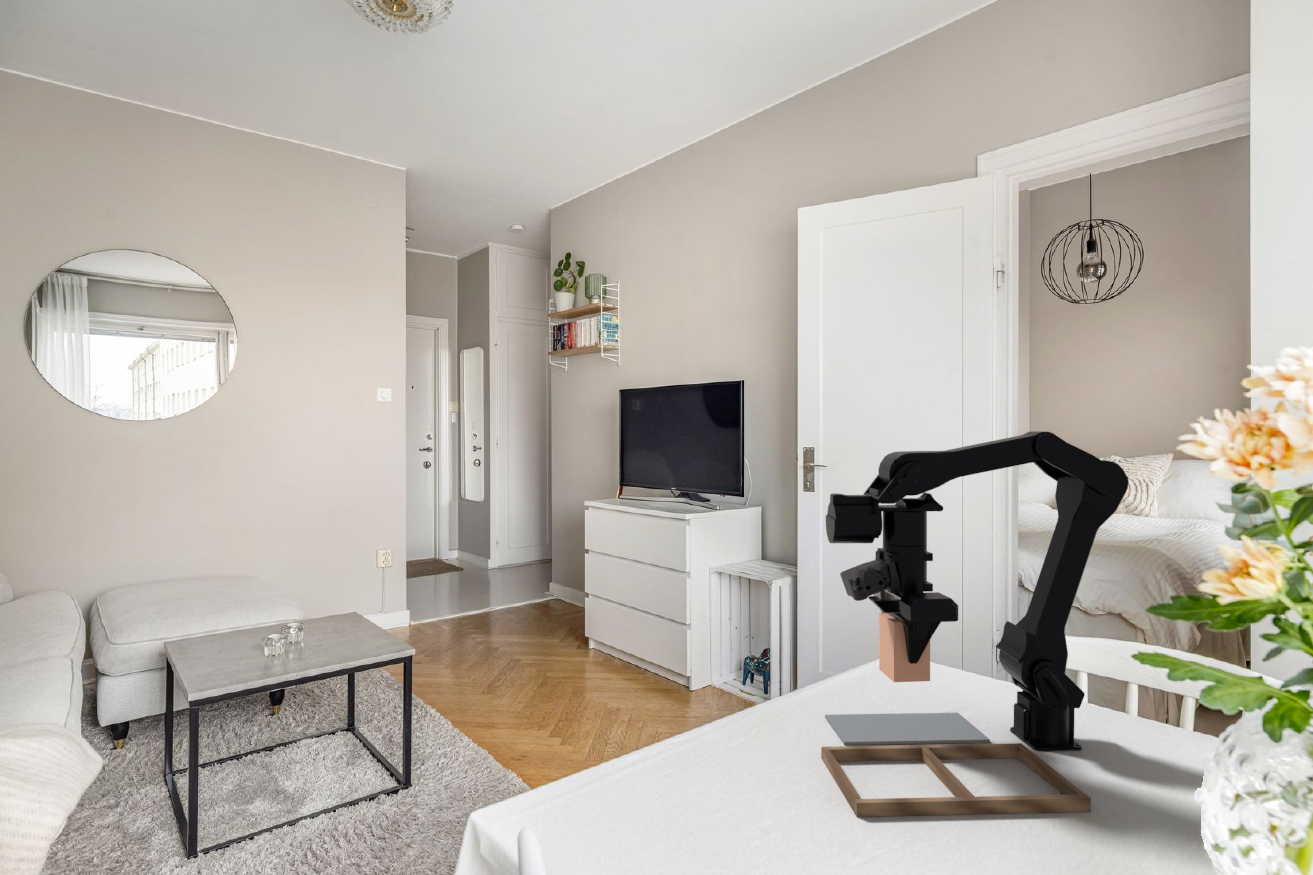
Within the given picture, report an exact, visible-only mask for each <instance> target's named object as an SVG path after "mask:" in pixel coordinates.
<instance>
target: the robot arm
mask: <svg viewBox="0 0 1313 875" xmlns="http://www.w3.org/2000/svg"><path fill="white" fill-rule="evenodd" d="M1031 463H1033V464H1034V465H1035V466H1037V467H1038V469H1040V470H1041V471H1042V472H1043V473H1044V474H1045V475H1046V476H1048V477H1050V478H1051V479H1052V480H1053V481H1055V482H1056V487H1055V488H1056V489H1055V496H1054V497H1055V503H1056V509H1057V510H1056V511H1057V515H1058V516H1057V521H1056V523H1055V527H1054V530H1053V533H1052V537H1051V539H1050V542H1049V545H1048V548H1047V551H1046V555H1045V556H1044V557H1045V558H1044V560H1043V563H1042V567H1041V570H1040V571H1039V572H1040V573H1039V575H1038V579H1037V582H1036V584H1035V588H1034V590H1033V594H1032V597H1031V599H1030V602H1029V606H1028V609H1027V612H1026V613H1025V615H1024V616H1023V617H1022V618H1021V619H1020V620H1019V621H1018V622H1017V623H1016V624H1015V623H1013V622H1010V621H1008V620H1007V621H1006V622H1005V624H1004V625H1003V632H1002V637H1001V639H1000V641H999V642H998V643H997V644H996V648H997V649H999V654H998V658H999V662H1000V664H1001V666H1002V668H1003V670H1005V672H1006V673H1008V674H1009V675H1010V677H1011V680H1012V682H1013V685H1015V686H1016V687H1018V688H1020V689H1021V690H1022V691H1017V692H1016V703H1015V702H1014V705H1013V726H1011V727H1010V728H1009V732H1010V733H1011V734H1013V735H1015V736H1016V737H1017V738H1018V739H1019V740H1020V741H1022V742H1023V743H1025V744H1026V745H1027V746H1029V747H1030V748H1031V749H1032V750H1034V751H1037V752H1061V751H1064V752H1065V751H1066V752H1067V751H1068V752H1069V751H1082V750H1083V746H1082V745H1081V744H1079V743H1078V742H1077V741H1075V709H1080V707H1081V706H1082V703H1083V700H1084V698H1085V692H1084V691H1083V690H1082V689H1081V688H1080V687H1079V686H1078V685H1077V684H1076V683H1075V682H1074V681H1073V680H1072V679H1071V678H1070V677H1069V676H1067V673H1066V670H1067V665H1068V656H1069V652H1068V644H1067V639H1066V631H1065V630H1066V625H1067V623H1068V620H1069V616H1070V614H1071V611H1072V608H1073V604H1074V601H1075V599H1076V595H1077V593H1078V591H1079V590H1078V589H1079V587H1080V584H1081V581H1082V578H1083V575H1084V572H1085V569H1086V566H1087V563H1088V561H1089V558H1090V557H1089V556H1090V554H1091V551H1092V548H1093V545H1094V542H1095V540H1096V539H1095V538H1096V535H1097V532H1098V531H1099V529H1100V528H1101V526H1102V525H1104V524H1105V523H1106V522H1107V521H1108V520H1109V518H1111V517H1112V516H1113V515H1114V514H1115V513H1116V511H1117V510H1118V508H1119V506H1120V505H1121V503H1122V502H1123V499H1124V497H1125V495H1126V493H1127V491H1128V489H1129V484H1130V482H1129V476H1127V474H1126V472H1125V470H1124V468H1122V466H1120V465H1119V464H1118V463H1115V462H1113V461H1111V460H1104V459H1103V460H1102V459H1100V458H1098V457H1097V456H1095V455H1093V454H1092V453H1090V452H1088V451H1085V450H1083V449H1081V448H1079V447H1077V446H1074V445H1073V444H1071V443H1069V442H1067V441H1065V440H1064V439H1062V438H1060V436H1057V435H1056V434H1055V433H1053V432H1050V431H1028V432H1026V433H1023V434H1020V435H1016V436H1012V437H1011V436H1010V437H1006V438H1001V439H996V440H991V441H986V442H981V443H976V444H970V445H965V446H962V447H956V448H952V449H947V450H916V451H915V450H912V451H911V450H910V451H908V450H907V451H905V450H904V451H894V452H890V453H888V454H886V455H885V456H884V457H883V458H882V459H881V462H880V463H879V467H878V474H877V475H876V477H874V479H873V481H872V482H871V483H870V485H869V486H868V488H866V490H865V491H864V492H863V494H844V493H830V495H829V503H828V507H827V514H825V529H826V536H827V540H828V542H829V544H873V542H874V541H875V540H876V539H879V538H880V536H881V535H882V547H878V548H877V550H876V551H875V558H874V560H871V561H868V562H864V563H860V564H857V565H856V566H854V567H850V568H848V569H846V570H843V571H841V572H840V574H839V575H840V577H841V578H840V579H841V580H842V581H841V582H842V583H843V586H844V590H845V592H846V594H847V596H848V597H851V598H853V600H854V601H857V602H860V601H865V600H866V599H869V601H871V602H872V603H873V604H874V605H875V606H876V607H877V608H878V609H879V610H880V613H893V612H901V613H893V614H894V616H895V617H896V618H897V619H898V620H899V621H900V622H901V623H902V624H903V626H904V634H905V642H906V649H907V656H908V661H909V663H911V664H915V663H918V661H919V659H920V657H921V656H922V654H923V652H924V650H925V648H926V646H927V644H928V642H929V641H930V642H931V639H932V637H933V635H934V634H935V633H936V630H937V629H938V628H939V626H940V624H941V623H942V622H943V623H945V622H948V623H949V622H952V623H953V622H957V621H959V604H957V603H956V602H955V600H954V599H952V598H951V597H949V596H947V595H945V594H943V593H942V592H939V591H937V592H934V587H933V586H934V584H933V583H932V582H930V581H928V572H927V571H928V565H927V564H928V562H933V561H934V554H933V553H932V552H930V551H928V548H927V547H928V543H927V542H928V538H927V537H928V533H927V532H928V518H927V517H928V512H942V511H944V506H943V505H941V504H940V503H939V502H938V501H936V499H935V498H934V497H933V495H932V493H929V491H931V490H934V489H937V488H940V487H941V486H943V485H945V484H947V483H948V482H950V481H953V480H955V479H958V478H961V477H966V476H967V477H968V476H971V475H976V474H980V473H986V472H992V471H995V470H996V471H997V470H1001V469H1005V468H1007V469H1008V468H1011V467H1016V466H1022V465H1026V464H1031ZM918 495H920V496H919V497H913V498H912V497H911V498H910V497H909V498H906V497H907V496H918Z"/></svg>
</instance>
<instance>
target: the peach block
mask: <svg viewBox="0 0 1313 875" xmlns="http://www.w3.org/2000/svg"><path fill="white" fill-rule="evenodd" d="M893 613H901V612H893ZM893 613H882V612H879V614H878V615H879V616H878V617H879V619H878V621H879V622H878V623H879V630H878V631H879V634H878V635H879V636H878V638H879V643H878V645H879V647H878V650H879V651H878V653H879V656H878V659H879V660H878V662H879V665H878V667H879V668H878V669H879V670H880V672H881V673H883V675H885V676H886V677H887V678H889V680H891V681H892V682H893V683H902V682H903V683H905V682H906V683H910V682H930V681H931V640H930V641H929V642H928V644H927V646H926V648H925V650H924V652H923V654H922V656H921V657H920V659H919V661H918V663H915V664H911V663H909V661H908V656H907V649H906V642H905V634H904V626H903V624H902V623H901V622H900V621H899V620H898V619H897V618H896V617H895V616H894V614H893Z"/></svg>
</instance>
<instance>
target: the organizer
mask: <svg viewBox="0 0 1313 875" xmlns="http://www.w3.org/2000/svg"><path fill="white" fill-rule="evenodd" d="M820 750H821V752H820V754H821V755H820V756H821V758H820V759H821V760H822V762H823V764H824V765H825V767H826V768H827V770H828V772H829V774H830V775H831V777H832V779H833V780H834V782H835V783H836V785H837V786H838V788H839V790H840V792H841V793H842V795H843V797H844V798H845V800H846V802H847V803H848V805H849V806H850V808H851V810H852V811H853V813H854V815H855V816H856V818H857V817H858V818H859V817H862V818H863V817H901V816H903V817H904V816H905V817H907V816H945V815H987V814H989V815H991V814H992V815H993V814H994V815H995V814H997V815H999V814H1032V813H1033V814H1034V813H1035V814H1036V813H1037V814H1039V813H1043V814H1044V813H1078V812H1080V813H1081V812H1082V813H1083V812H1084V813H1085V812H1092V811H1091V808H1092V798H1091V797H1090V796H1089V795H1088V794H1087V793H1085V792H1084V791H1083V790H1081V789H1080V788H1079V787H1077V786H1076V785H1075V784H1074V783H1073V782H1072V781H1071V780H1069V779H1067V778H1066V777H1065V776H1063V775H1062V774H1061V772H1059V771H1057V770H1056V769H1054V768H1053V767H1052V766H1051V765H1049V764H1048V763H1047V762H1046V761H1044V760H1043V759H1042V758H1041V757H1039V756H1038V755H1037V754H1035V753H1034V752H1033V751H1032V750H1030V749H1029V748H1028V747H1027V746H1025V744H1023V743H1020V742H1019V743H952V744H911V745H910V744H895V745H860V746H859V745H843V746H821V748H820ZM1016 758H1018V759H1020V760H1021V762H1023V763H1024V764H1026V765H1027V766H1028V767H1029V768H1030V769H1032V771H1034V772H1035V773H1036V774H1038V775H1039V776H1040V777H1041V778H1042V779H1044V780H1045V781H1046V782H1047V783H1048V784H1049V785H1051V786H1052V787H1053V788H1055V790H1057V791H1058V792H1059V793H1061V794H1044V795H1043V794H1042V795H1041V794H1040V795H1038V794H1037V795H1034V794H1033V795H993V796H990V795H988V796H987V795H986V796H984V795H983V796H975V795H974V794H973V793H972V792H971V791H970V790H969V788H967V787H966V786H965V785H964V784H963V783H962V782H961V781H960V780H959V778H958V777H956V776H955V775H954V773H952V771H951V770H950V769H949V768H948V767H947V766H946V765H945V764H944V763H943V762H942V761H941V760H958V759H960V760H962V759H963V760H964V759H965V760H971V759H972V760H973V759H976V760H977V759H1016ZM912 760H913V761H916V760H917V761H918V760H921V761H922V762H923V763H924V764H925V765H926V766H927V767H928V768H929V769H930V771H931V772H932V773H933V774H934V775H935V776H936V778H938V779H939V780H940V782H941V783H943V785H944V786H945V787H946V788H947V789H948V791H950V792H951V793H952V795H953V796H940V797H937V796H936V797H901V798H900V797H898V798H897V797H896V798H895V797H894V798H889V797H888V798H887V797H886V798H862V797H861V795H860V794H859V793H858V791H857V790H856V788H855V787H854V785H853V783H852V782H851V780H850V778H848V776H847V774H846V772H845V771H844V769H843V768H842V767H841V765H840V764H839V762H849V761H850V762H851V761H852V762H853V761H854V762H855V761H856V762H859V761H861V762H863V761H868V762H869V761H912Z"/></svg>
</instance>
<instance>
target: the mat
mask: <svg viewBox="0 0 1313 875" xmlns="http://www.w3.org/2000/svg"><path fill="white" fill-rule="evenodd" d="M824 718H825V720H826V721H827V723H828V724H829V726H830V727H831V728H832V730H833V731H834V733H835V734H836V735H837V737H838V738H839V740H840V741H841V742H842V744H843V746H859V745H860V746H869V745H910V744H911V745H928V744H986V743H991V740H990V738H989V737H988V736H986V735H985V734H984V733H983V732H982V731H981V730H979V729H978V728H976V726H974V725H973V724H972V723H971V722H970V721H968V720H967V718H965V717H964V716H963V715H962V714H960V713H959V712H924V713H923V712H919V713H917V712H916V713H914V712H913V713H905V712H904V713H859V714H858V713H855V714H854V713H853V714H852V713H850V714H847V713H846V714H843V713H842V714H841V713H840V714H824Z"/></svg>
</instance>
